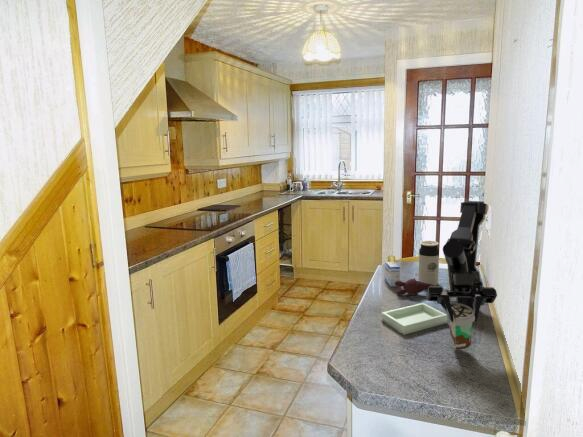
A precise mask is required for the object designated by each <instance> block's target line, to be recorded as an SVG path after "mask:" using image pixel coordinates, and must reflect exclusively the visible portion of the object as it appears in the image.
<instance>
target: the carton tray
mask: <svg viewBox="0 0 583 437" xmlns="http://www.w3.org/2000/svg"><path fill="white" fill-rule="evenodd" d="M381 322H383V323H384V324H387V325H388V326H389V327H391V328H393V329H394V330H395V331H397V332H398V333H400V334H401V335H408V334H409V335H410V334H412V333H415V332H419V331H422V330H427V329H429V328H430V329H431V328H434V327H437V326H441V325H444V324H445V325H446V324H447V323H448V315H447V313H446V312H445V313H444V312H443V311H441V310H438V309H437V308H435V307H432V306H431V305H428V304H426V303H425V302H421V303H416V304H413V305H409V306H403V307H400V308H395V309H391V310H386V311H383V312H381Z"/></svg>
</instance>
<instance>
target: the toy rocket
mask: <svg viewBox="0 0 583 437" xmlns="http://www.w3.org/2000/svg"><path fill="white" fill-rule="evenodd" d="M395 285H396V286H395V287H400V288H403V289H399V290H397V291H396V292H395V294H396V295H397V296H403V295H405V294H408V295H411V296H418V295H419V294H420V293H421V292H424V291H426V290H427V291H428V288H429V286H434V285H432V284H428V283H424V282H420V281H419V280H417V279H416V277H415V278H410V279H408V280H407V281H406V282H404V281H402V280H400V281H396V282H395Z"/></svg>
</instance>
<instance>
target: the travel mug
mask: <svg viewBox="0 0 583 437" xmlns="http://www.w3.org/2000/svg"><path fill="white" fill-rule="evenodd" d="M419 244H420V247H419V249H418V281H420V282H424V283H428V284H432V285H434V286H438V284H439V267H440V266H439V263H440V262H439V260H440V250H439V247H438V246H439V244H440V243H439V242H438V241H434V240H422V241H420V242H419Z"/></svg>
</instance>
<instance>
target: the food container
mask: <svg viewBox="0 0 583 437" xmlns="http://www.w3.org/2000/svg"><path fill="white" fill-rule="evenodd" d="M450 305H451V309H452V314H453V322H451V321H450V319H449V318H448V319H449V335H450V338H451V341H452V344H453V346H454V347H453V348H454V350H464V349H468V348H469V347H470V346H471V344H472V333H473V323H474V320H475V315H474V312H473V310H472V308H470V307H469V306H467V305H464V304H460V303H456V302H453V301H452V302H451V301H450Z"/></svg>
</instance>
